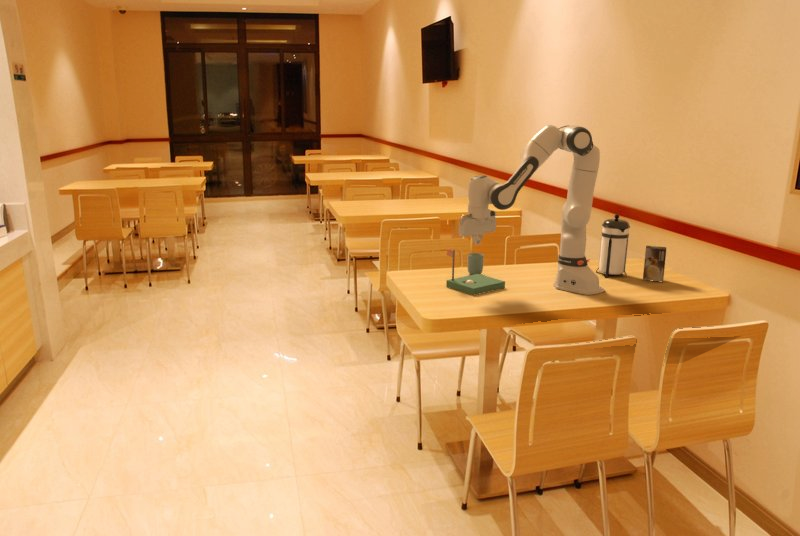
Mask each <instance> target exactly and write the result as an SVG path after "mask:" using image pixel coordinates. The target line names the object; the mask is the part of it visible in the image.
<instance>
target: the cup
mask: <svg viewBox="0 0 800 536" xmlns="http://www.w3.org/2000/svg"><path fill="white" fill-rule="evenodd" d="M484 256H485V255H484V253H480V252H470V253H468V254H467V265H466V266H467V272H468V274H469V275H474V274H481V275H482V273H483V270H484V262H485V261H484V260H485V259H484V258H485V257H484Z"/></svg>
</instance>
